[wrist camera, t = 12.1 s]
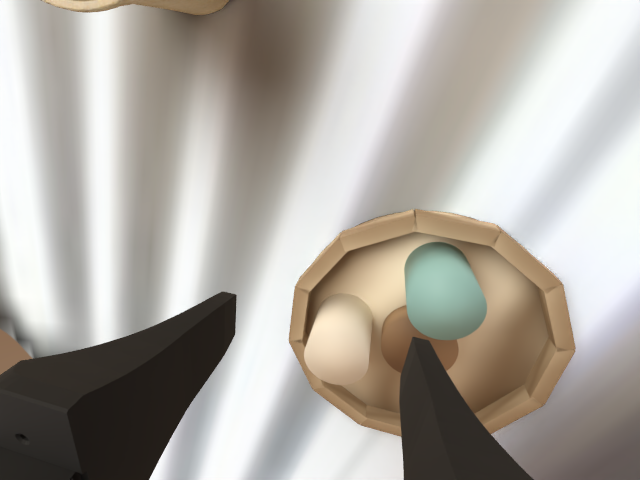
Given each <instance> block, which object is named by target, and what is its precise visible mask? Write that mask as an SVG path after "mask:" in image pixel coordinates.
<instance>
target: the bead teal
mask: <svg viewBox="0 0 640 480" xmlns="http://www.w3.org/2000/svg"><path fill="white" fill-rule="evenodd" d="M404 274H405V290H406V305H407V314H408V317H409V320H410V322H411V323H412V325H413V326H414V327H415V328H416V329H417V330H418V331H419V332H421V333H422V334H424V335H426V336H428V337H431V338H434V339H438V340H456V339H460V338H463V337H466V336H468V335H470V334H471V333H473V332H474V331H476V330H477V329H478V328H479V327H480V326H481V324H482V323H483V321H484V319H485V317H486V314H487V303H486V299H485V297H484V294H483V292H482V290H481V288H480V286H479V284H478V281H477V279H476V277H475V275H474V273H473V271H472V269H471V267H470V264H469V262H468V260H467V258H466V256H465V255H464V253H463V252H462V251H461V250H460V249H458V248H457V247H455V246H453V245H451V244H449V243H445V242H430V243H426V244H423V245H421V246H419V247H418V248H416V249H415V250H414V251H412V253H411V254H410V255H409V256H408V258H407V260H406V263H405V267H404Z"/></svg>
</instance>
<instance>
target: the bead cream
mask: <svg viewBox="0 0 640 480" xmlns="http://www.w3.org/2000/svg"><path fill="white" fill-rule="evenodd" d="M372 322H373V316H372V312H371V310H370V308H369V306H368V305H367V304H366V303H365V302H364V301H363V300H362V299H360V298H359V297H357V296H355V295H352V294H347V293H338V294H334V295H331V296H329V297H328V298H326V299H325V300H324V301H323V302H322V304H321V305H320V308H319V311H318V313H317V316H316V319H315V322H314V325H313V327H312V330H311V333H310V336H309V339H308V341H307V344H306V347H305V350H304V359H305V363H306V365H307V367H308V369H309V370H310V371H311V372H312V373H313V374H314V375H315V376H316V377H318V378H319V379H321V380H323V381H325V382H327V383H330V384H335V385H348V384H352V383H355V382H357V381H358V380H360V379H361V378H362V377H363V376H364V375H365V374H366V372H367V370H368V365H369V355H370V344H371V333H372Z"/></svg>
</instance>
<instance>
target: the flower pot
mask: <svg viewBox="0 0 640 480" xmlns="http://www.w3.org/2000/svg"><path fill="white" fill-rule="evenodd" d="M41 1H44V2H46V3H48V4H51V5H53V6H56V7H59V8H63V9H67V10H71V11H76V12H100V11H106V10H110V9H113V8H117V7H119V6H124V5H130V4H137V5H143V6H150V7H156V8H163V9H169V10H174V11H179V12H185V13H189V14H194V15H205V14H210V13H214V12H216V11H218V10H220V9H222V8H223V7H224V6H225V5H226V3H227V2H228V1H229V0H41Z"/></svg>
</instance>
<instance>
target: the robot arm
mask: <svg viewBox="0 0 640 480" xmlns="http://www.w3.org/2000/svg"><path fill="white" fill-rule="evenodd" d="M235 323H236V295H235V294H231V293H227V292H221V293H219V294H217V295H215V296H213V297H211V298H209V299H207V300H205V301H204V302H202V303H200V304H198V305H196V306H194V307H192V308H190V309H188V310H186V311H184V312H183V313H181V314H179V315H176V316H174V317H172V318H170V319H168V320H166V321H164V322H161V323H159V324H157V325H155V326H152V327H150V328H148V329H145V330H142V331H140V332H137V333H134V334H132V335H129V336H126V337H123V338H120V339H116V340H113V341H110V342H107V343H103V344H100V345H97V346H93V347H89V348H85V349H81V350H76V351H72V352H67V353H63V354H58V355H52V356H46V357H41V358H35V359H29V360H22V361H20V362H18V363H17V364H16V365H14V366H12V367H11V368H10V369H8V370H7V371H5V372H4V373H2V374H1V375H0V480H149V478H150V476H151V475H152V473H153V471H154V469H155V467H156V465H157V463H158V461H159V459H160V457H161V455H162V453H163V451H164V450H165V448H166V446H167V444H168V442H169V440H170V438H171V437H172V435H173V433H174V431H175V429H176V428H177V426H178V424H179V422H180V421H181V419H182V417H183V415H184V413H185V412H186V410H187V409H188V407H189V405H190V404H191V402H192V401H193V399H194V398H195V397H196V395H197V394H198V392H199V391H200V389H201V388H202V387H203V385H204V384H205V382H206V381H207V379H208V378H209V377H210V375H211V374H212V372H213V371H214V369H215V368H216V367H217V365H218V364H219V362H220V361H221V359H222V358H223V356H224V355H225V353H226V351H227V349H228V347H229V345H230V343H231V341H232V339H233V337H234V335H235ZM399 407H400V422H401V436H402V449H403V465H404V480H534V479H532V478H531V477H530V476H529V475H528V474H527V473H526V472H525V471H524V470H523V469H522V468H521V467H520V466H519V465H518V464H517V463H516V462H515V461H514V460H513V459H512V457H511V456H510V455H509V454H508V453H507V452H506V451H505V450H504V449H503V448H502V447H501V446H500V444H499V443H498V442H497V441H496V440H495V439H494V438H493V436H492V435H491V434H490V433H489V432H488V430H487V429H486V428H485V427H484V426H483V424H482V423H481V422H480V421H479V419H478V418H477V417H476V415H475V414H474V413H473V412H472V410H471V409H470V407H469V406H468V405H467V403H466V402H465V400H464V399H463V397H462V396H461V394H460V393H459V391H458V390H457V388H456V386H455V385H454V383H453V382H452V380H451V378H450V377H449V375H448V373H447V372H446V370H445V368H444V366H443V365H442V363H441V361H440V359H439V358H438V356H437V354H436V352H435V350H434V348H433V346H432V345H431V343H430V341H429V340H426V339H421V338H417V337H412V340H411V343H410V347H409V350H408V353H407V356H406V360H405V363H404V366H403V369H402V372H401V376H400V393H399Z"/></svg>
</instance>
